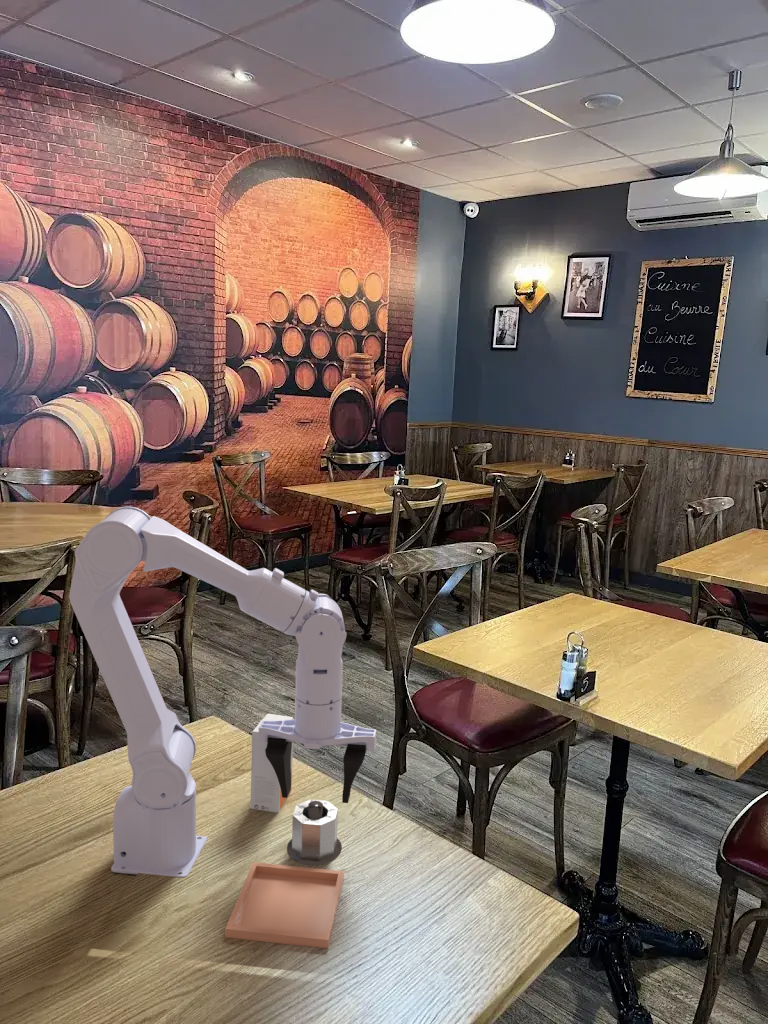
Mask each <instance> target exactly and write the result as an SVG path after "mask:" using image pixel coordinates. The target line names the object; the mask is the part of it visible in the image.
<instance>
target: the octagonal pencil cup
mask: <svg viewBox="0 0 768 1024" xmlns="http://www.w3.org/2000/svg"><path fill="white" fill-rule="evenodd" d="M312 801H320V802H322V804H323V812H322V818H321V819H319V820H316V819H308V805H309V803H310V802H312ZM338 811H339V808H337V807H336V806H335V805H334V804H333V803H331V802H330V801H328V800H322V799H321V800H320V799H308V800H306V801H303V802H300V803H297V804H296V805H295V808H294V810H293V813H292V825H291V826H292V828H291V831H292V833H291V835H292V838H291V839H292V851H293V852H294V853H295V854H296V855H297V856H298V857H299V858H300V859H301V860H308V861H318V862H319V861H322V860H324V859H326V858H328V857H330V856H332V855H334V852H335V849H336V845H337V838H338V817H339V815H338Z"/></svg>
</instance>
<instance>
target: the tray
mask: <svg viewBox="0 0 768 1024" xmlns="http://www.w3.org/2000/svg"><path fill="white" fill-rule="evenodd" d="M344 881H345V871H343V870H333V869H327V868H326V869H325V868H315V867H314V868H313V867H303V866H294V865H285V864H275V863H264V862H263V863H262V862H254V861H253V862H252V864H251V866H250V869H249V871H248V873H247V876H246V878H245V881H244V883H243V886H242V888H241V889H240V892H239V895H238V896H237V900H236V902H235V905H234V907H233V909H232V912H231V914H230V917H229V919H228V921H227V924H226V926H225V929H224V935H225V936H224V938H227V939H236V940H237V939H238V940H244V941H245V940H247V941H255V942H256V941H257V942H264V943H272V944H273V943H274V944H284V945H293V946H301V947H310V948H321V949H327V950H328V949H329V948H330V942H331V938H332V934H333V929H334V924H335V920H336V916H337V911H338V907H339V904H340V903H339V901H340V899H341V898H340V897H341V893H342V888H343V884H344Z"/></svg>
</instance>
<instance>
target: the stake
mask: <svg viewBox="0 0 768 1024" xmlns="http://www.w3.org/2000/svg"><path fill="white" fill-rule="evenodd" d="M322 812H323V804H322V802H320V801H312V802H310V803H309V805H308V819H316V820H319V819H321V818H322ZM342 849H343V846H342V843H341V840H339V838H338V837H337V845H336V849H335V852H334V855H332V856H330V857H328V858H326V859H324V860H322V861H319V862H318V861H308V860H301V859H300V858H299V857H298V856H297V855H296V854H295V853H294V852H293V851H292V838H291V839H290V840H289V842H288V843H287V846H286V851H287V855H288V856H289V857H290V858H291V860H294V861H295V862H297V863H299V864H301V865H305V866H306V865H307V866H322V865H325V864H328V863H330V862H334V860H336V859H337V858H338V857H339V856H340V855H341V853H342Z"/></svg>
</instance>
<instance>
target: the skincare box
mask: <svg viewBox="0 0 768 1024" xmlns="http://www.w3.org/2000/svg"><path fill="white" fill-rule="evenodd" d="M292 719H295V717H293V716H289V715H279V714H272V713H267V714H265V716H264V717H263V718H262V719H261V720H260V721H259V722H258V723H257V726H255V728H254V729H253V730H252V732H251V765H250V766H251V767H250V768H251V769H250V770H251V771H250V773H251V777H250V809H251V810H259V811H264V812H272V813H275V814H276V813H280V811H281V809H282V807H283V805H284V804H285V802H286V801H287V799H288V797H289V795H290V794H291V792H292V785H293V784H292V783H293V754H294V753H293V751H294V742H292V749H291V790H290V792H289V795H288V797H287V798H283V797H282V793H281V788H280V784H279V781H278V778H277V775H276V773H275V771H274V768H273V767H272V765H271V763H270V761H269V760H268V758H267V757H266V753H265V749H266V747H267V742H259V726H260V725H261V723H262V721H280V720H292Z"/></svg>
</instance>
